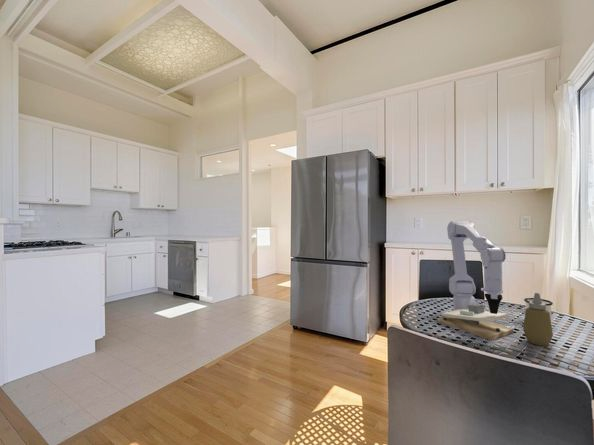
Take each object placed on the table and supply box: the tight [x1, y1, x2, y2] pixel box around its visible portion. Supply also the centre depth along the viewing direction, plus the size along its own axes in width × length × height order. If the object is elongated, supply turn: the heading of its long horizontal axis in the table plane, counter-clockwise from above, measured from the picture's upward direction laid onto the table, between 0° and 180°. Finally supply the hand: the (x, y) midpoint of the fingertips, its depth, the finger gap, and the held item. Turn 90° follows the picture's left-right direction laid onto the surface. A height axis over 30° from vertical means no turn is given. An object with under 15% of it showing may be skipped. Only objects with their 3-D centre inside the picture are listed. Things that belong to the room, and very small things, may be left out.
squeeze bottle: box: [522, 292, 554, 347], centre depth 100 cm, size 8×8×18 cm
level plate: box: [440, 303, 510, 323], centre depth 116 cm, size 13×20×4 cm, turn 26°
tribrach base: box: [437, 316, 514, 341], centre depth 116 cm, size 15×22×4 cm
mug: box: [523, 297, 554, 320], centre depth 120 cm, size 12×10×9 cm
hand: (493, 313), depth 108 cm, fingers closed
